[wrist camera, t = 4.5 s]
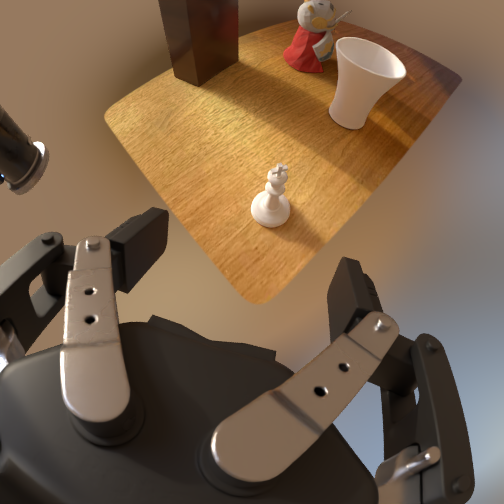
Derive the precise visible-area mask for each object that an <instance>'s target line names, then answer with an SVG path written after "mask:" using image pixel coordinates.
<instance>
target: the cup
mask: <svg viewBox="0 0 504 504" xmlns="http://www.w3.org/2000/svg"><path fill="white" fill-rule="evenodd" d="M336 50H337V60H338V84H337V90H336V93H335V97H334V100H333V102H332V104H331V106H330V108H329V114H330V116H331V118H332V119H333V120H334V121H335V122H336V123H338V124H339V125H341V126H343V127H345V128H349V129H359V128H362V127H363V126H364V124H365V121H366V118H367V116H368V114H369V112H370V110H371V109H372V107H373V106H374V104H375V103H376V102H377V101H378V99H379V98H380V97H381V96H382V95H383V94H384V93H386V92H387V91H388V90H389V89H390V88H391V87H393V86H394V85H395V84H396V83H398V82H399V81H400V80H401V79H403V78H404V77H405V76H406V69H405V67H404V65H403V64H402V62H401V61H400V60H399V59H398V58H397V57H396V56H395V55H394V54H392V53H391V52H390V51H388V50H387V49H385V48H383V47H381V46H379V45H377V44H375V43H373V42H370V41H367V40H364V39H360V38H354V37H345V38H341V39H339V40H338V41H337V42H336Z"/></svg>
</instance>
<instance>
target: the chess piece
mask: <svg viewBox="0 0 504 504" xmlns="http://www.w3.org/2000/svg"><path fill="white" fill-rule="evenodd" d="M287 170H288V167H287V165H282V163H278V164H277V166H276V168H273V169H270V171H269V173H268V180H269V181H268V182H267V183H266V186H265V189H266V191H263V192H261V193H259V194H258V195H257V196H256V197H255V198H254V200H253V202H252V205H251V212H252V215H253V217H254V219H255V220H256V221H257V222H258V223H259V224H261V225H263V226H265V227H278V226H280V225H282V224H284V223H285V222H286V221H287V219H288V218H289V215H290V204H289V201H288V199H287V198H286V197H285V196H284V195H283V193H284V192H285V186H284V184H285V183H286V181H287V179H288V176H287V173H286V172H285V171H287Z"/></svg>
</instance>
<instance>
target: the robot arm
mask: <svg viewBox="0 0 504 504" xmlns="http://www.w3.org/2000/svg"><path fill="white" fill-rule="evenodd" d="M39 156H40V150H39V148H38V147H37V146H36V145H35V144H34V143H33V142H32V141H31V137H30V136H29V135H28V137H27V135H26V134H25V133H24V132H23V131H22V130H21V129H20V128H19V126H18V125H17V124H16V123H15V122H14V121H13V119H12V118H11V117H10V116H9V115H8V113H7V112H6V111H5V110H4V109H3V108H2V106H1V105H0V184H2V183H3V182H4V180H5V181H7V182H8V183H12V184H13V185H18V184H21V183H22V182H24V181H25V180H26V179H27V178H28V177H29V176H30V174H31V173H32V172H33V170H34V168H35V167H36V165H37V163H38V160H39ZM168 221H169V213H168V211H167V210H163V209H159V208H155V207H152V208H150V209H149V210H147V211H146V212H144V213H143V214H142V215H141V214H140V215H137V216H134V217H131V218H130V219H128V220H127V221H125V222H124V223H123V224H121V225H120V226H119V227H117V228H116V229H114V230H113V231H112V232H110V233H109V234H108V235H106V236H105V237H101V236H91V237H87V238H84V239H82V240H81V241H80V242H78V244H77V246H69V245H64V243H63V237H62V235H61V234H60V233H57V232H48V233H44V234H41V235H40V236H38V237H36V238H35V239H34V240H33V241H31V242H30V243H28V244H27V245H26V246H24V247H23V248H22V249H21V250H19V251H18V252H17V253H15V254H14V255H13V256H12V257H11V258H9V259H8V260H7V261H6V262H5V263H3V264H2V265H1V266H0V504H465V503H466V502H467V501H468V500H469V499H470V498H471V496H472V494H473V491H474V487H475V479H474V469H473V462H472V454H471V448H470V442H469V436H468V431H467V426H466V421H465V417H464V413H463V409H462V405H461V401H460V397H459V394H458V390H457V386H456V383H455V380H454V376H453V373H452V370H451V367H450V364H449V361H448V358H447V356H446V353H445V350H444V347H443V346H442V344H441V343H440V342H439V340H437V339H436V338H435V337H433V336H432V335H429V334H425V333H423V334H420V335H419V336H418V337H417V339H416V340H415V341H412V340H410V339H408V338H406V337H404V336H402V335H400V334H399V327H398V325H397V323H396V322H395V321H394V319H392V318H391V317H390V316H388V315H387V314H385V313H383V310H382V307H381V304H380V301H379V298H378V297H377V296H378V295H377V292H376V290H375V286H374V283H373V282H372V280H371V279H370V278H369V276H368V275H367V274H364V273H363V271H362V268H361V265H360V263H359V261H357V260H353V259H350V258H346V257H342V259H341V260H340V263H339V265H338V267H337V270H336V272H335V275H334V277H333V279H332V282H331V284H330V286H329V290H328V294H327V303H328V313H329V326H330V340H331V344H330V345H329V346H328V347H327V348H326V349H325V350H323V351H322V352H321V353H320V354H319V355H318V356H316V357H315V358H314V359H313V360H312V361H311V362H309V363H308V364H307V365H305V366H304V367H303V368H302V369H301V370H299V371H298V372H297V373H296V374H295V373H294V372H293V371H291V370H290V369H289V368H287V367H286V366H284V365H282V364H281V363H279V362H277V361H275V356H276V351H273V350H269V349H265V348H261V347H257V346H253V345H250V344H245V343H234V342H222V341H212V340H209V339H206V338H205V337H203V336H201V335H199V334H197V333H195V332H194V331H192V330H190V329H188V328H187V327H185V326H183V325H181V324H178V323H175V322H172V321H170V320H167V319H164V318H161V317H158V316H155V315H152V316H151V318H150V319H149V321H148V322H147V323H146V322H127V323H122V324H119V318H118V312H117V304H116V297H115V293H116V292H117V290H119V291H122V292H124V293H127V294H128V293H129V292H130V291H131V289H132V288H133V287H134V286H135V285H136V283H137V282H138V281H139V280H140V279H141V278H142V277H143V275H144V274H145V273H146V272H147V271H148V270H149V269H150V268H151V266H152V265H153V264H154V263H155V262H156V261H157V260H158V259H159V257H160V256H161V255H162V254H163V253H164V251H165V248H166V245H167V236H168ZM40 273H41V277H42V281H43V285H42V286H41V287H40V288H39V289H38V290H37V291H36V293H34V294H33V296H31V297H30V295H29V286H30V283H31V282H32V280H34V279H35V278H36V277H37V276H38V275H39V274H40ZM64 305H65V314H64V342H63V344H60V345H57V346H54V347H51V348H48V349H46V350H43V351H39V352H36V353H34V354H30V355H27V356H25V354H26V352H27V351H28V350H29V348H30V347H31V346H32V344H33V343H34V342H35V340H36V339H37V338H38V337H39V335H40V334H41V333H42V331H43V330H44V329H45V328H46V327H47V325H48V324H49V323H50V322H51V320H52V319H53V318H54V317H55V316H56V314H57V313H58V312H59V311H60V310H61V309H62V307H63V306H64ZM367 381H368V382H370V383H373V384H375V385H377V386H380V390H381V401H382V414H383V433H384V462H382V463H381V464H380V466H379V467H378V469H377V471H376V475H375V478H374V477H373V476H372V475H371V473H370V472H369V470H368V469H367V468H366V467H365V465H364V464H363V463H362V462H361V460H360V459H359V458H358V456H357V455H356V454H355V452H354V451H353V450H352V448H351V447H350V446H349V444H348V443H347V442H346V440H345V439H344V438H343V436H342V435H341V434H340V432H339V431H338V429H337V428H336V427H335V425H334V424H333V423H332V422H333V421H334V420H335V419H336V418H337V417H338V416H339V414H340V413H341V412H342V411H343V410H344V409H345V408H346V406H347V405H348V404H349V403H350V402H351V400H352V399H353V398H354V397H355V396H356V394H357V393H358V392H359V390H360V389H361V388H362V387H363V385H364V384H365V383H366V382H367ZM417 387H418V390H419V401H418V404H417V405H416V400H415V394H414V390H415V389H416V388H417Z"/></svg>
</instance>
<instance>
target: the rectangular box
mask: <svg viewBox="0 0 504 504" xmlns="http://www.w3.org/2000/svg"><path fill="white" fill-rule="evenodd" d="M158 1H159V6H160V11H161V16H162V21H163V25H164V30H165V35H166V40H167V44H168V49H169V53H170V58H171V62H172V67H173V71H174V75H175V77H176V78H179V79H181V80H184V81H186V82H189V83H191V84H193V85H196V86H198V87H199V86H200V85H202V84H203V83H205V82H206V81H208V80H209V79H211V78H212V77H214V76H215V75H217V74H218V73H220V72H221V71H223V70H224V69H226V68H228V67H229V66H231V65H232V64H234V63H236V62H237V61H239V59H238V0H158Z"/></svg>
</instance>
